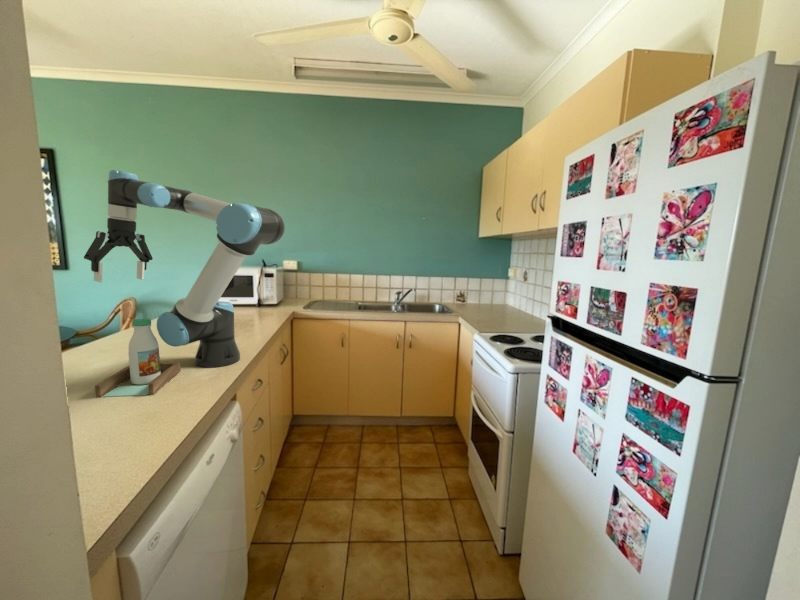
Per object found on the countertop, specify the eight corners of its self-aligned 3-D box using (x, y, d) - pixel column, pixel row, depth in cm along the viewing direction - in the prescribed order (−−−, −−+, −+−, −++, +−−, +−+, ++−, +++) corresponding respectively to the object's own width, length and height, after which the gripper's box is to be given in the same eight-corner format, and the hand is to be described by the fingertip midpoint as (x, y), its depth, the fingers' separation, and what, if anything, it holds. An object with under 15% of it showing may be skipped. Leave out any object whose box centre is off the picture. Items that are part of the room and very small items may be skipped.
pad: (158, 385, 104) (158, 384, 104) (147, 395, 97) (147, 394, 97) (117, 387, 102) (117, 386, 102) (103, 397, 95) (103, 396, 95)
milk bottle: (128, 387, 102) (122, 323, 99) (134, 378, 109) (129, 318, 106) (158, 383, 106) (154, 321, 103) (162, 374, 112) (158, 316, 110)
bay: (180, 372, 115) (179, 362, 115) (153, 394, 98) (152, 383, 97) (132, 373, 112) (131, 363, 112) (95, 397, 95) (94, 385, 94)
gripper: (150, 220, 126) (148, 276, 130) (69, 212, 102) (69, 280, 106) (165, 224, 124) (162, 280, 128) (86, 216, 100) (85, 285, 104)
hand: (120, 280), depth 117 cm, fingers open, 13 cm apart
